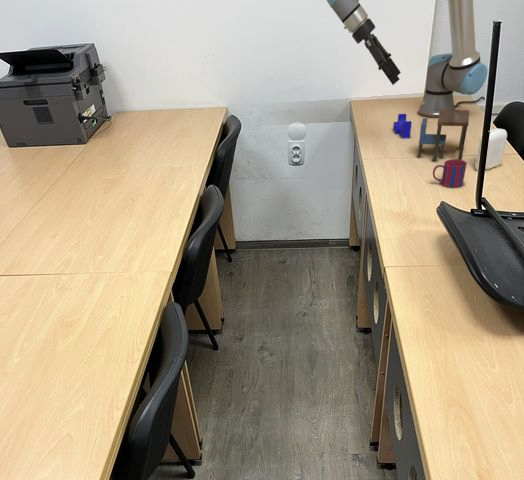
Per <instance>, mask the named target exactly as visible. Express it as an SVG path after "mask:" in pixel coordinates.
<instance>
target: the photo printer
mask: <svg viewBox="0 0 524 480" xmlns="http://www.w3.org/2000/svg"><path fill="white" fill-rule="evenodd" d="M489 131H490V137H489V144H488V152H487V162H486V170H485V171H487V170H489V169H493V168H495V167H498V166H500V165H501V164H502V160H503V156H504V151H505V147H506V143H507V138H508V132H507V131H506V129H504V128H494V129H491V130H489ZM481 140H482V136H481V137H480V139H479V144H478V148H477V154H476V159H475V164H474V169H475V170H477V171H479V170H478V165H479V157H480V149H481Z"/></svg>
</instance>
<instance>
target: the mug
mask: <svg viewBox="0 0 524 480" xmlns="http://www.w3.org/2000/svg"><path fill="white" fill-rule="evenodd" d="M438 168H442V175H441V178H438V177H436V174H435V173H436V170H437V169H438ZM466 169H467V162H466V161H465V160H463V159H462V160H458V158H457V159H456V158H453V159H447V160H445V161H444V164H443V165H442V164H438V165H437V164H436V165H435V166H434V168H433V170H432V177H433V178H434V179H435V180H436V181H437V182H441V185H442V186H444V187H446V188H460V187H462V186H463V185H464V182H465V181H464V179H465V174H466Z"/></svg>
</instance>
